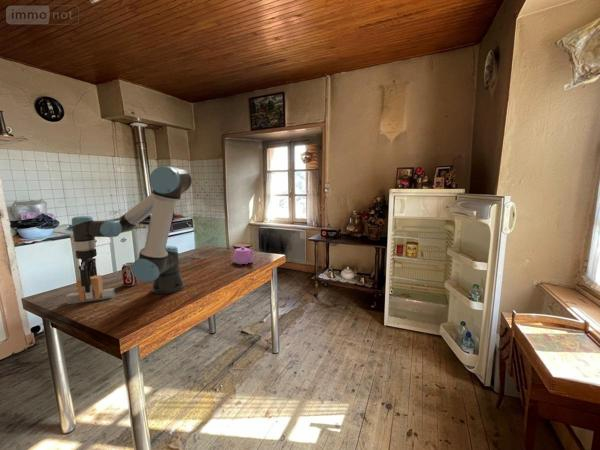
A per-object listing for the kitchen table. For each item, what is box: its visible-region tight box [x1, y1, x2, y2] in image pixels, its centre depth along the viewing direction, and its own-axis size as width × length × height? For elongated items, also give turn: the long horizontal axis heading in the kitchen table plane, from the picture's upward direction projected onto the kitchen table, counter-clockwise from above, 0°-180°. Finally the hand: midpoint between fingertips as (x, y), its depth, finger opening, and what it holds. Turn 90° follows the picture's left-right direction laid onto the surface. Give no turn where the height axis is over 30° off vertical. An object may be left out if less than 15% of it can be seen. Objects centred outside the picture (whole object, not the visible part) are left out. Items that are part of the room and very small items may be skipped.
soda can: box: [121, 262, 139, 287], centre depth 142 cm, size 7×7×12 cm
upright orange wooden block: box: [76, 274, 104, 301], centre depth 123 cm, size 8×5×10 cm, turn 112°
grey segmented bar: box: [65, 287, 116, 305], centre depth 124 cm, size 18×4×4 cm, turn 112°
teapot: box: [232, 246, 255, 265], centre depth 182 cm, size 20×13×12 cm, turn 55°
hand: (91, 295), depth 124 cm, fingers closed on upright orange wooden block, 5 cm apart
